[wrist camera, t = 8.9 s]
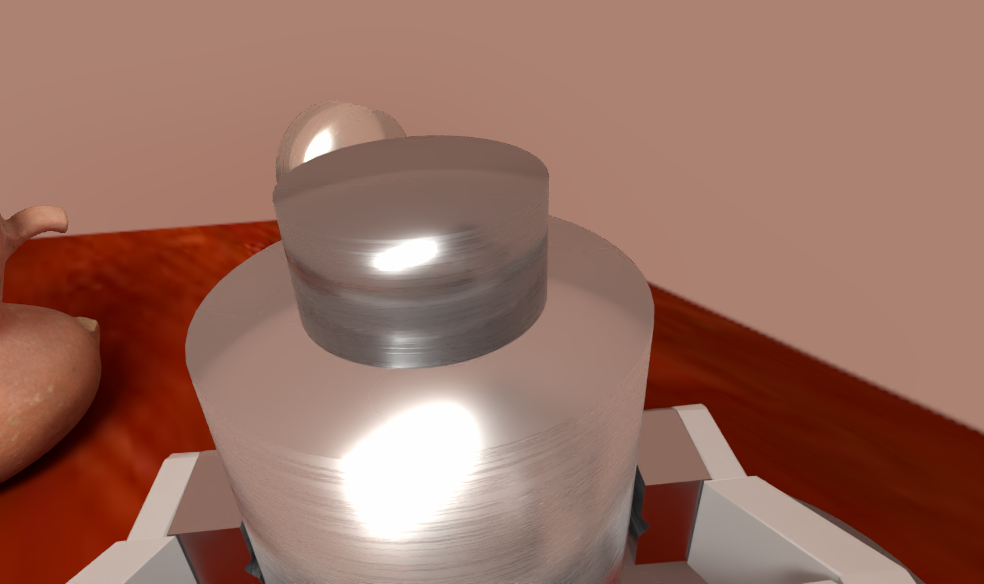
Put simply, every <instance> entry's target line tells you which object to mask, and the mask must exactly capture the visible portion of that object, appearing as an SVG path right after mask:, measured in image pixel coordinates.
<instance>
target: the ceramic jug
mask: <svg viewBox="0 0 984 584" xmlns="http://www.w3.org/2000/svg"><path fill="white" fill-rule="evenodd" d="M67 228H68V220H67V216H66V214H65V211H64V210H63V209H62V208H60V207H56V206H36V207H30V208H27V209H24V210H22V211H20V212H18V213H17V214H15V215H14V216H12V217H11V218H10V219H8V220H4V219H3V218H2V216H1V214H0V483H2V482H4V481H6V480H7V479H9V478H11V477H12V476H14V475H16V474H17V473H19V472H20V471H22V470H24V469H25V468H26V467H28V466H29V465H31V464H32V463H33V462H35V461H36V460H38V459H39V458H40V457H42V456H43V455H44V454H45V453H47V452H48V451H49V450H50V449H52V448H53V447H54V446H55V445H56V444H57V443H59V442H60V441H61V440H62V439H63V438H64V437H65V436H66V435H67V434H68V433H69V432H70V431H71V430H72V429H73V428H74V427H75V426H76V425H77V424H78V422H79V421H80V420H81V419H82V417H83V416H84V415H85V413H86V412H87V410H88V409H89V407H90V405H91V404H92V402H93V400H94V398H95V395H96V393H97V390H98V388H99V384H100V379H101V357H100V347H99V344H100V327H99V324H98V322H97V321H96V320H92V319H89V318H85V317H72V316H70V315H68V314H65V313H63V312H60V311H57V310H53V309H49V308H44V307H39V306H31V305H22V304H10V303H2V297H3V282H4V268H5V263H6V260H7V259H8V258H9V257H10V256H11V255H12V254H13V253H14V252H15V251H16V249H17V248H18V247H19V246H20V245H21V244H23V243H24V242H25V241H26V240H28V239H30V238H31V237H33V236H36V235H37V234H40V233H42V232H47V231H56V232H60V233H65V232H66V231H67Z"/></svg>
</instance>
